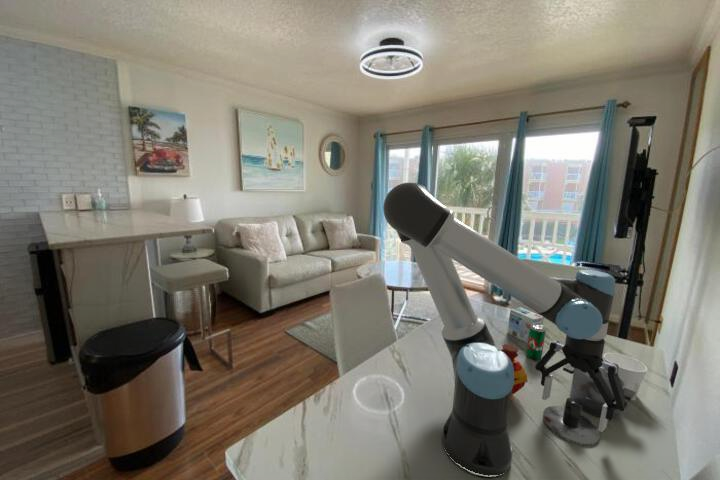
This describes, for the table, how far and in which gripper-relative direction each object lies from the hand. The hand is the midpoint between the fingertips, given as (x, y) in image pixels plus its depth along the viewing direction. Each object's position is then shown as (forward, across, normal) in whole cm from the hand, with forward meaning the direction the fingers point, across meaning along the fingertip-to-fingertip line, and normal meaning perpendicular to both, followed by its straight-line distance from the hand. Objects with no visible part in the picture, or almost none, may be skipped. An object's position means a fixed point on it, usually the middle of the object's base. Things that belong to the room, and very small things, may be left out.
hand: (572, 412), depth 78 cm
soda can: (+4, +22, -26) cm, 34 cm away
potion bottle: (+4, +16, +3) cm, 17 cm away
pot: (+4, 0, -15) cm, 16 cm away
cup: (+4, -2, -29) cm, 29 cm away
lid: (+4, 0, 0) cm, 4 cm away
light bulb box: (+4, +32, -38) cm, 50 cm away
